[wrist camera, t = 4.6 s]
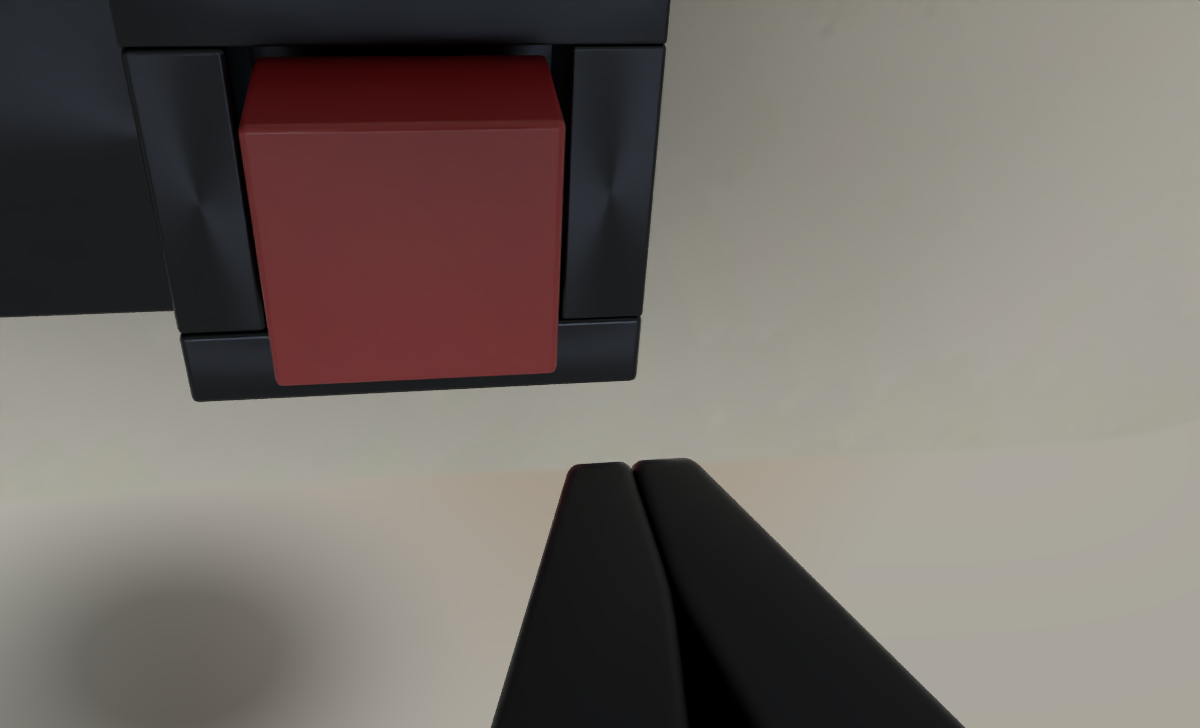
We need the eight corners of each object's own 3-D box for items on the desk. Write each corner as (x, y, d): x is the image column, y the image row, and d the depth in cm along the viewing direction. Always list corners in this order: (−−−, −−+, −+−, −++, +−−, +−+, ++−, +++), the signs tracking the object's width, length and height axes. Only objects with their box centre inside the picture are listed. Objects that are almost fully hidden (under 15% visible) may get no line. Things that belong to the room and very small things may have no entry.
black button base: (621, -140, 17) (676, -52, 14) (598, 245, 21) (637, 383, 17) (-396, -158, 15) (-609, -62, 12) (-209, 271, 19) (-329, 431, 15)
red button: (547, 51, 14) (566, 122, 13) (540, 289, 17) (557, 375, 15) (253, 53, 14) (235, 126, 12) (286, 299, 16) (274, 389, 15)
